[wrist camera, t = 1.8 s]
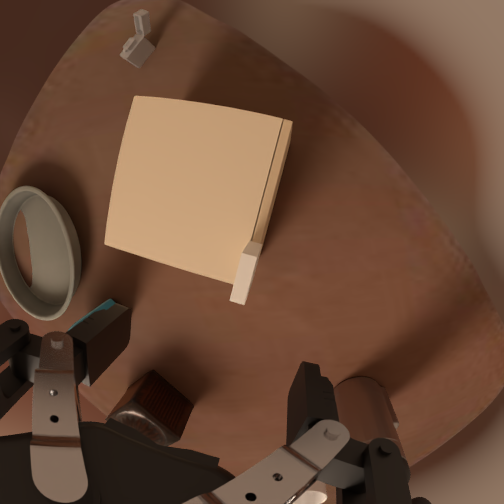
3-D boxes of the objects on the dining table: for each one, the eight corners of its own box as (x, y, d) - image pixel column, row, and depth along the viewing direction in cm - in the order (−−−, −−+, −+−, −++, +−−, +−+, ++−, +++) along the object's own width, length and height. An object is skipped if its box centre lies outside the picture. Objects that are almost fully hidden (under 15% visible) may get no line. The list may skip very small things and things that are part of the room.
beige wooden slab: (292, 141, 35) (296, 107, 19) (260, 259, 39) (242, 310, 23) (283, 139, 35) (280, 103, 19) (252, 256, 39) (228, 306, 23)
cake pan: (41, 156, 40) (24, 156, 36) (113, 260, 42) (97, 267, 38) (-2, 243, 46) (-16, 248, 41) (56, 333, 48) (43, 342, 44)
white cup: (303, 448, 47) (303, 487, 37) (332, 459, 47) (335, 495, 37) (279, 465, 49) (276, 501, 39) (308, 475, 49) (308, 510, 39)
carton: (283, 139, 36) (282, 118, 24) (252, 256, 39) (239, 285, 28) (175, 118, 36) (134, 95, 25) (150, 227, 40) (104, 244, 29)
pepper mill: (123, 390, 48) (78, 450, 31) (153, 367, 46) (104, 436, 28) (180, 439, 50) (152, 504, 32) (216, 421, 47) (191, 497, 30)
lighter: (139, 68, 35) (113, 50, 27) (132, 64, 35) (105, 46, 27) (168, 33, 33) (146, 9, 26) (160, 30, 33) (138, 7, 26)
